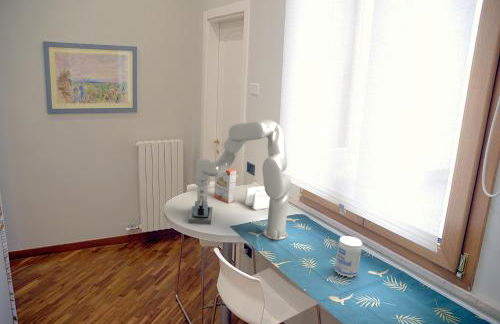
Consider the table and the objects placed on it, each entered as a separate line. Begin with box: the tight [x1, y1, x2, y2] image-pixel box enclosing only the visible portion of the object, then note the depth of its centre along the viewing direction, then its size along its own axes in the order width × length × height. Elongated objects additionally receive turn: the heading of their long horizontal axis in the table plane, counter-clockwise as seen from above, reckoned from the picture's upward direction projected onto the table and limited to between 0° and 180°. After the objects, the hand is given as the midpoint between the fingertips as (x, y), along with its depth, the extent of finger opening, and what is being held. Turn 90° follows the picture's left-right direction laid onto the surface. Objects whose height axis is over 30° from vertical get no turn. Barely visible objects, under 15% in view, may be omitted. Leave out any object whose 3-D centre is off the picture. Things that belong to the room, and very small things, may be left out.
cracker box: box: [213, 167, 238, 204], centre depth 234 cm, size 14×6×21 cm, turn 45°
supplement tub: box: [334, 235, 363, 278], centre depth 156 cm, size 10×10×15 cm
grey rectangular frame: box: [187, 205, 213, 225], centre depth 205 cm, size 20×12×2 cm, turn 3°
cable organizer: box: [244, 185, 270, 211], centre depth 227 cm, size 15×11×12 cm
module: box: [193, 200, 209, 218], centre depth 204 cm, size 5×7×7 cm
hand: (201, 213), depth 205 cm, fingers closed on module, 5 cm apart
